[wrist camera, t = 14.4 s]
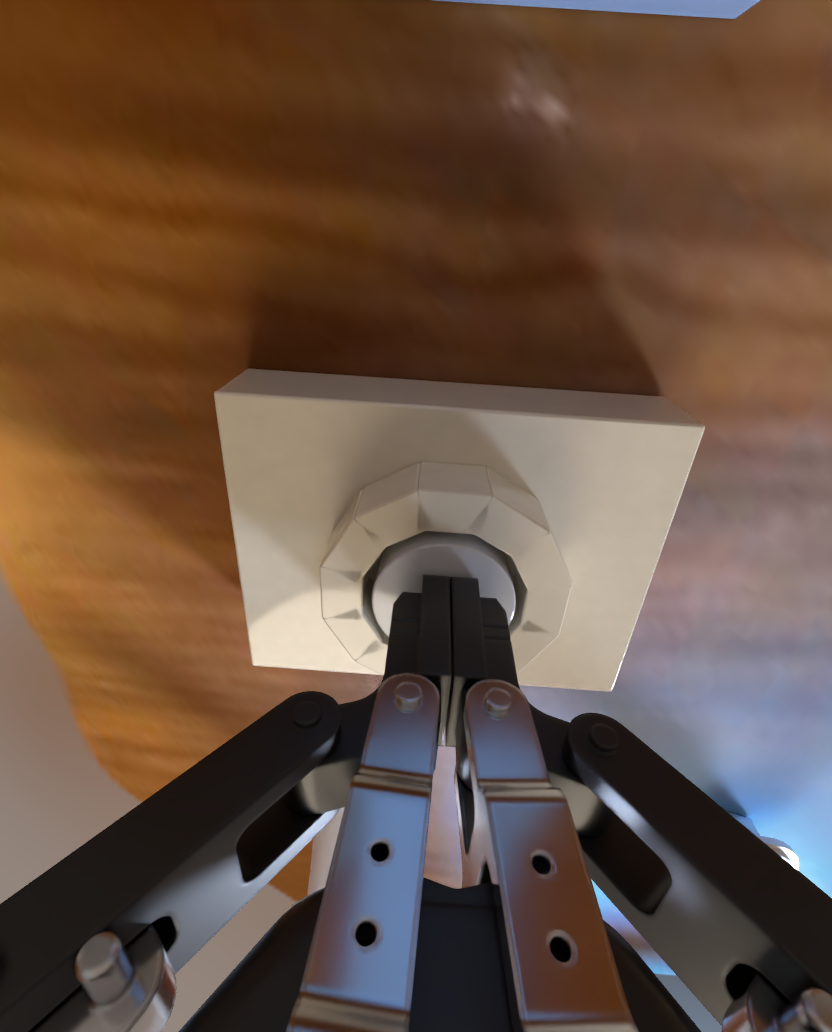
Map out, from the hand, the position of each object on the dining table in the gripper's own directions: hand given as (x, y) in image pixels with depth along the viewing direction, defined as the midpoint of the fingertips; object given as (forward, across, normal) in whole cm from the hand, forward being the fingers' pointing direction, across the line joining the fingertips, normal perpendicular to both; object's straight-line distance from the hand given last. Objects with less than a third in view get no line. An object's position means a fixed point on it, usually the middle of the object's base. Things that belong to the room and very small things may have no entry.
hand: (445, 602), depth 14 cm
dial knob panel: (+5, 0, 0) cm, 5 cm away
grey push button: (+2, 0, 0) cm, 2 cm away
